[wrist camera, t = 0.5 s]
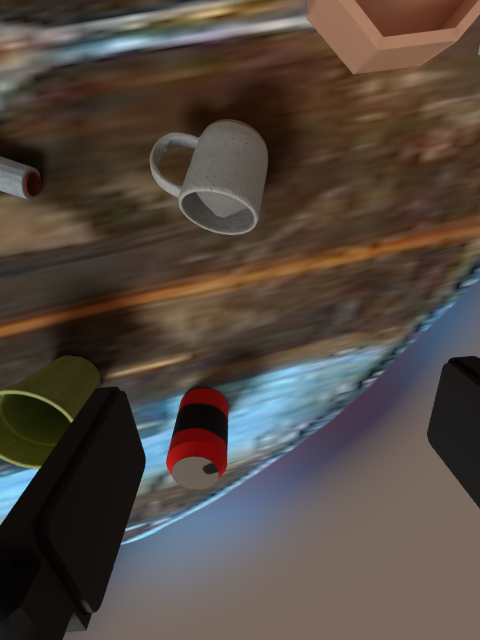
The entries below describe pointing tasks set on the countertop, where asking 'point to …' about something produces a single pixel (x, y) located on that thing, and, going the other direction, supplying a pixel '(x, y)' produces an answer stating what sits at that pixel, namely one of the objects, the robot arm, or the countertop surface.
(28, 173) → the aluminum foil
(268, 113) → the countertop surface
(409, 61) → the bowl
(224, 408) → the soda can
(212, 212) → the ceramic mug
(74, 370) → the plant pot
